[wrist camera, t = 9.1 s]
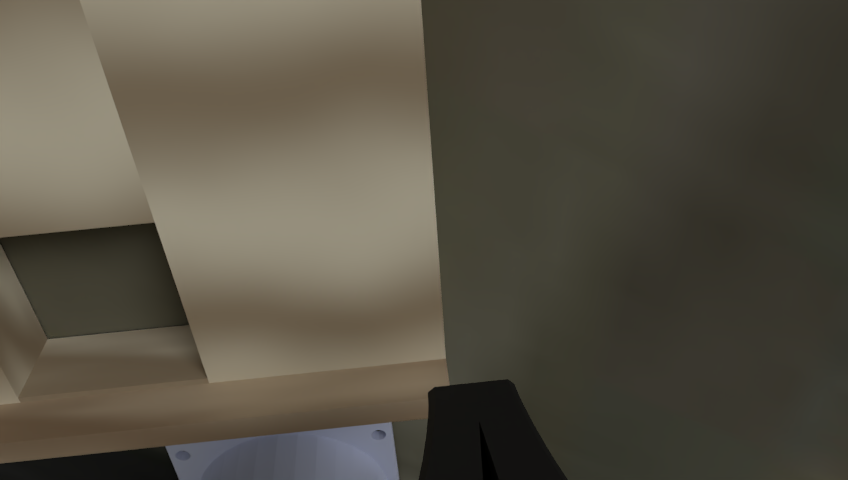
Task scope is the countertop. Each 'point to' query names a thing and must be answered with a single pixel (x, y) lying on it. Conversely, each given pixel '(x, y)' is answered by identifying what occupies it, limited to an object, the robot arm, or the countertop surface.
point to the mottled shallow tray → (223, 216)
